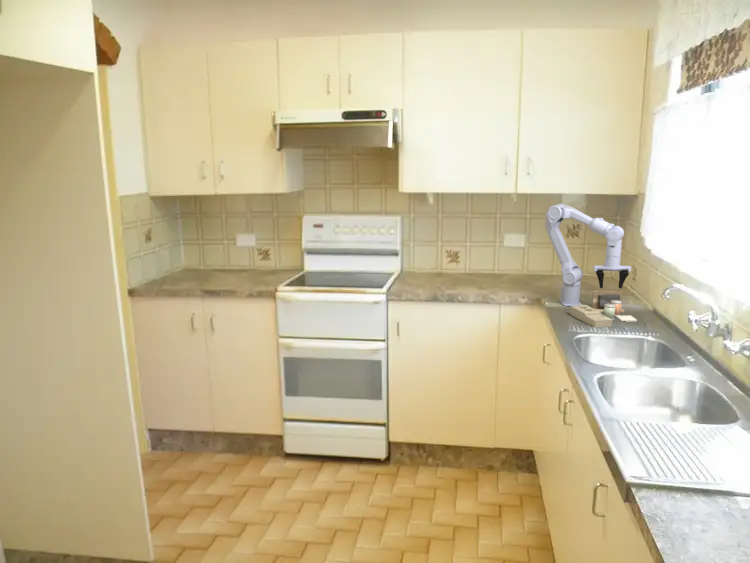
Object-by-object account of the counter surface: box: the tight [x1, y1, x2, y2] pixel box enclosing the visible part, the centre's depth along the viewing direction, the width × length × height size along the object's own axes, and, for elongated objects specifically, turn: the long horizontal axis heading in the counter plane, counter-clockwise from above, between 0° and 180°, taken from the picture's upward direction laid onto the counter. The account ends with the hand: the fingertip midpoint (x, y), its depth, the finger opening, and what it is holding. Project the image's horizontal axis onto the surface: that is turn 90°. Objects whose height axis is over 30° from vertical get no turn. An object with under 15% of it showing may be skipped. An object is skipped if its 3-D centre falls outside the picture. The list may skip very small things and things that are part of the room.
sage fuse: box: [603, 303, 615, 322], centre depth 230 cm, size 4×4×6 cm
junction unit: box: [590, 290, 625, 313], centre depth 241 cm, size 5×12×8 cm, turn 89°
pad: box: [615, 315, 638, 323], centre depth 230 cm, size 6×6×1 cm
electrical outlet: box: [569, 304, 613, 329], centre depth 229 cm, size 7×4×18 cm
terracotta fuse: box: [611, 300, 623, 318], centre depth 235 cm, size 4×4×6 cm
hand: (610, 287), depth 241 cm, fingers open, 7 cm apart
